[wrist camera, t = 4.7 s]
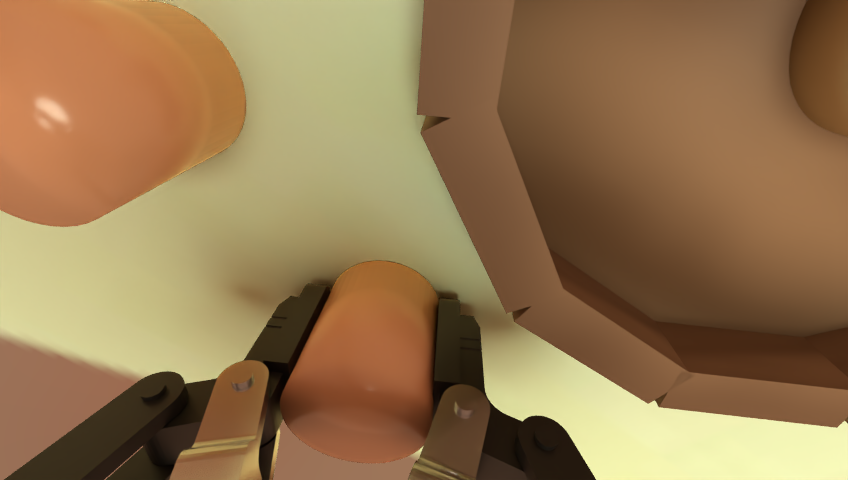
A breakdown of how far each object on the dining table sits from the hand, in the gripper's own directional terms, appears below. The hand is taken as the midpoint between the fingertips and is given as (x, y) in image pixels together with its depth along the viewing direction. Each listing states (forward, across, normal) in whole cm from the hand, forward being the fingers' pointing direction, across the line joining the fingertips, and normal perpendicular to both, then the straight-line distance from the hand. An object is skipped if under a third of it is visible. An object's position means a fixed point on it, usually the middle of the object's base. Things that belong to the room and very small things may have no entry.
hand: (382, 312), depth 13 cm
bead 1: (0, +6, -7) cm, 9 cm away
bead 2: (0, 0, 0) cm, 0 cm away
